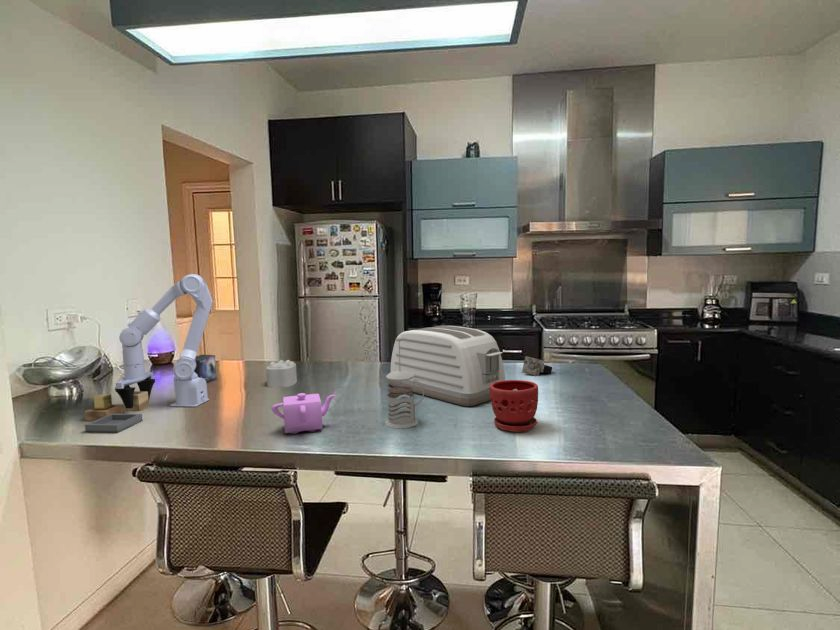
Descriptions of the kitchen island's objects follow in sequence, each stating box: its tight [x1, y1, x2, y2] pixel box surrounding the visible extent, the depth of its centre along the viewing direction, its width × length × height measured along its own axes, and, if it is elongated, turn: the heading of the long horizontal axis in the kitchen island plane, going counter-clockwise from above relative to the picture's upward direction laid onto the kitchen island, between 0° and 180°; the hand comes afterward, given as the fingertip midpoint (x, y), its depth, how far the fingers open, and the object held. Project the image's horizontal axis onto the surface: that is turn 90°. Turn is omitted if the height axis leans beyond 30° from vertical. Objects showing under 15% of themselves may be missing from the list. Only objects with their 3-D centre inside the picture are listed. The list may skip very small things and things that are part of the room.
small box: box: [194, 354, 218, 384], centre depth 187 cm, size 11×6×10 cm, turn 168°
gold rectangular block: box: [93, 393, 113, 410], centre depth 146 cm, size 3×3×7 cm
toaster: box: [387, 325, 506, 407], centre depth 166 cm, size 23×45×22 cm, turn 43°
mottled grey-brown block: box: [521, 356, 553, 377], centre depth 189 cm, size 7×11×10 cm
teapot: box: [270, 392, 337, 435], centre depth 130 cm, size 18×14×10 cm
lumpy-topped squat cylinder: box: [265, 359, 298, 388], centre depth 183 cm, size 10×13×9 cm
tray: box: [84, 413, 144, 434], centre depth 137 cm, size 10×10×2 cm
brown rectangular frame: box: [84, 403, 125, 422], centre depth 146 cm, size 7×7×3 cm
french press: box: [384, 336, 425, 429], centre depth 133 cm, size 10×12×25 cm
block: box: [126, 390, 150, 412], centre depth 153 cm, size 4×4×6 cm
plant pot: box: [490, 379, 539, 433], centre depth 128 cm, size 13×13×12 cm
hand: (137, 404), depth 153 cm, fingers open, 7 cm apart
